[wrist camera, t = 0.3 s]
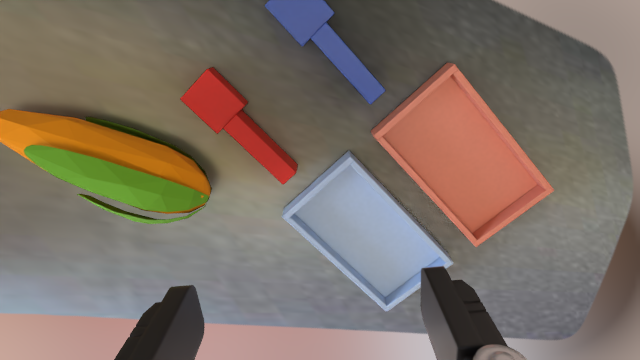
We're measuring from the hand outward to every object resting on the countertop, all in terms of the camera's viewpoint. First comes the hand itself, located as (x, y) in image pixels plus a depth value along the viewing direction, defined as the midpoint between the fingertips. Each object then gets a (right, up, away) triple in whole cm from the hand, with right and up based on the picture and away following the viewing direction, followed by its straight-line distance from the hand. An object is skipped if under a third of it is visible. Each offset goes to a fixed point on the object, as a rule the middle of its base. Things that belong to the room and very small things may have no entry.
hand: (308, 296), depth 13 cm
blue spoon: (+1, +16, +20) cm, 26 cm away
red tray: (+14, +6, +24) cm, 29 cm away
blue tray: (+5, -1, +27) cm, 28 cm away
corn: (-19, +7, +24) cm, 32 cm away
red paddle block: (-7, +9, +23) cm, 26 cm away
